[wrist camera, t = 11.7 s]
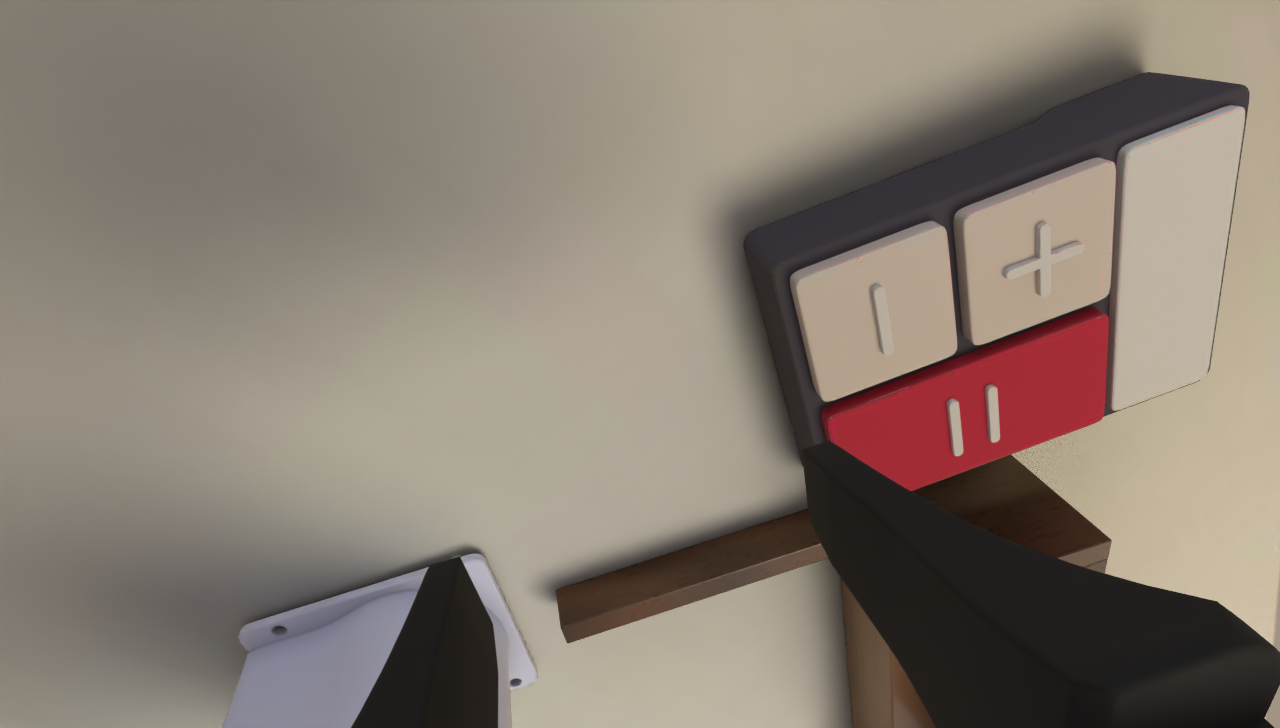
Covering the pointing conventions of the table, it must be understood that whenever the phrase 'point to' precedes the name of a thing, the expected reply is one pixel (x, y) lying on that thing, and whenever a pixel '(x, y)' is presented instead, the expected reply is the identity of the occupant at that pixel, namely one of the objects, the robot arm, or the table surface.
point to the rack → (879, 686)
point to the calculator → (1009, 282)
